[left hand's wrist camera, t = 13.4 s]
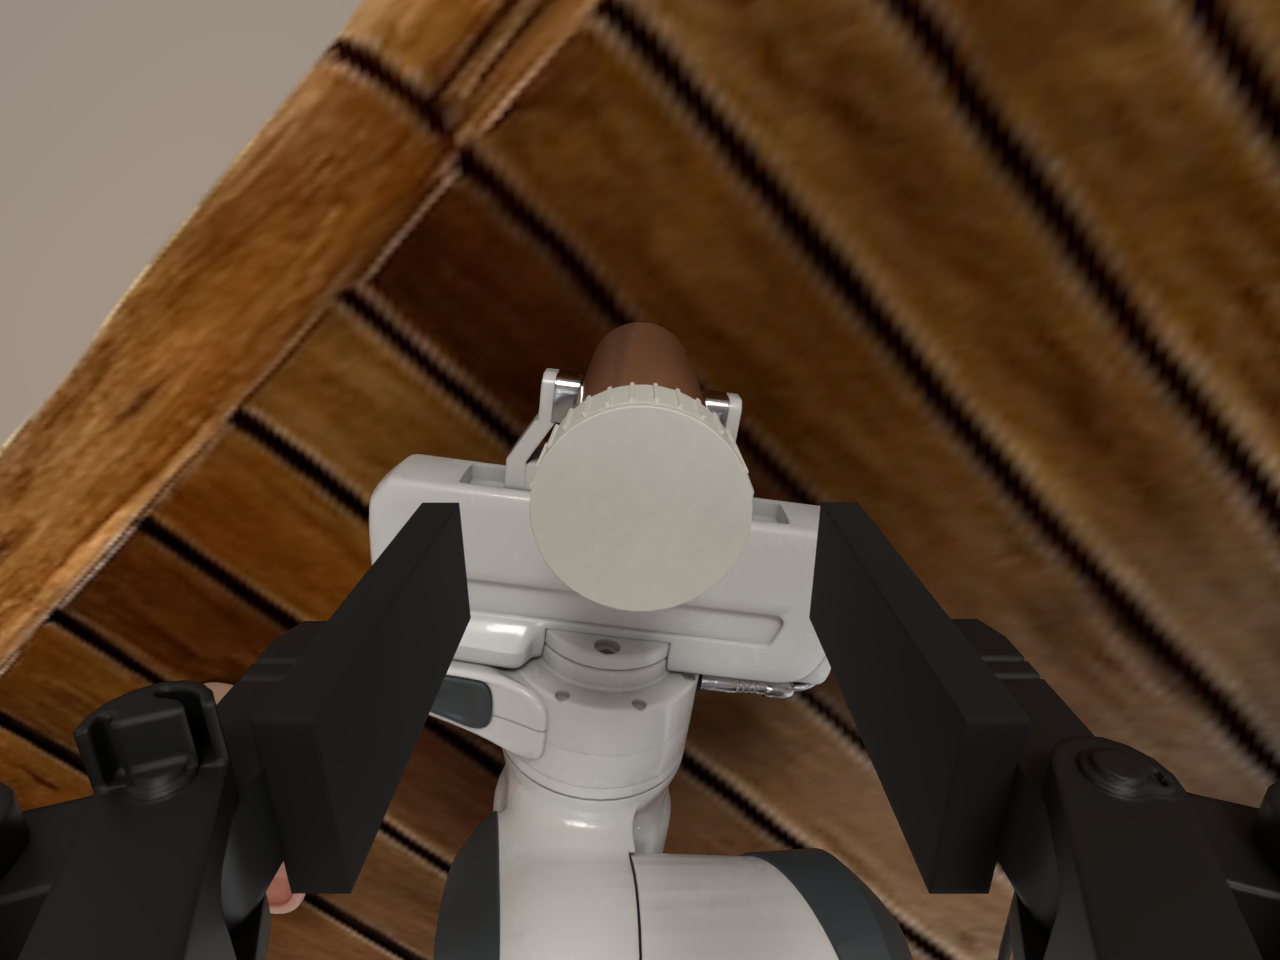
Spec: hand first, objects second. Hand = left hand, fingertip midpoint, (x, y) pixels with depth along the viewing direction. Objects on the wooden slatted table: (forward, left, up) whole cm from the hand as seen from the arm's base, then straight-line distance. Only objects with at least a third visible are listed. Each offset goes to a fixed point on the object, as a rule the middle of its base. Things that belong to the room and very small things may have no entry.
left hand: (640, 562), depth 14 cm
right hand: (0, -1, -14) cm, 14 cm away
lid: (0, 0, -3) cm, 3 cm away
